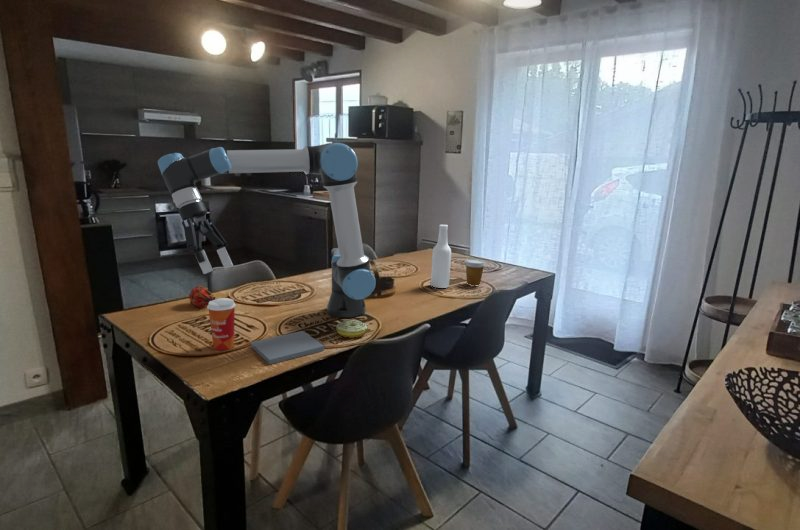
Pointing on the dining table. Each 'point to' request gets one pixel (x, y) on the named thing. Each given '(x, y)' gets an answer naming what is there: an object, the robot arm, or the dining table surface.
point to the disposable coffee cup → (474, 271)
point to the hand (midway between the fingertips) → (219, 269)
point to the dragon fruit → (200, 296)
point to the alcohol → (441, 260)
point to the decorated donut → (351, 328)
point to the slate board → (286, 347)
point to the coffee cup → (222, 323)
